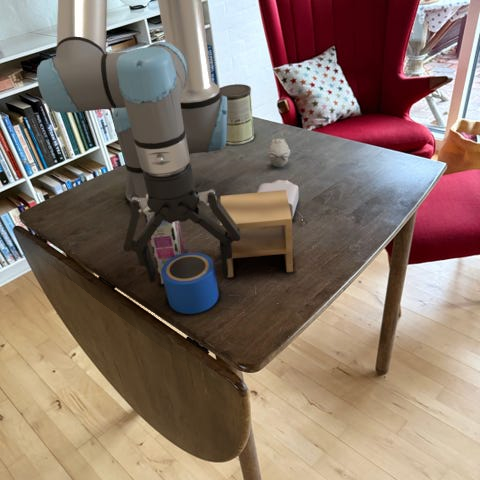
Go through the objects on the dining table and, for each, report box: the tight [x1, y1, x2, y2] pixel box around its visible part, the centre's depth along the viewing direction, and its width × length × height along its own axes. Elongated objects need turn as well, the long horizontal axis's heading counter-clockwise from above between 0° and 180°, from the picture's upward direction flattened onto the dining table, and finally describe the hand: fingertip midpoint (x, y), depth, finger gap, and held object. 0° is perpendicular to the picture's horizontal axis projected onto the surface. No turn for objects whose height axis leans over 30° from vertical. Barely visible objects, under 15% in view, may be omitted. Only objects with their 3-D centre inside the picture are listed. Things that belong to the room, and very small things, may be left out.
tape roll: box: [161, 252, 220, 315], centre depth 85 cm, size 10×10×7 cm
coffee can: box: [219, 83, 255, 146], centre depth 137 cm, size 10×10×14 cm
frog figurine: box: [267, 138, 291, 168], centre depth 123 cm, size 6×7×7 cm
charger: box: [256, 179, 299, 220], centre depth 109 cm, size 5×9×15 cm
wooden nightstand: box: [219, 190, 294, 278], centre depth 91 cm, size 11×13×12 cm
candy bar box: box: [142, 193, 186, 285], centre depth 90 cm, size 11×5×16 cm, turn 4°
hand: (189, 275), depth 85 cm, fingers open, 13 cm apart
